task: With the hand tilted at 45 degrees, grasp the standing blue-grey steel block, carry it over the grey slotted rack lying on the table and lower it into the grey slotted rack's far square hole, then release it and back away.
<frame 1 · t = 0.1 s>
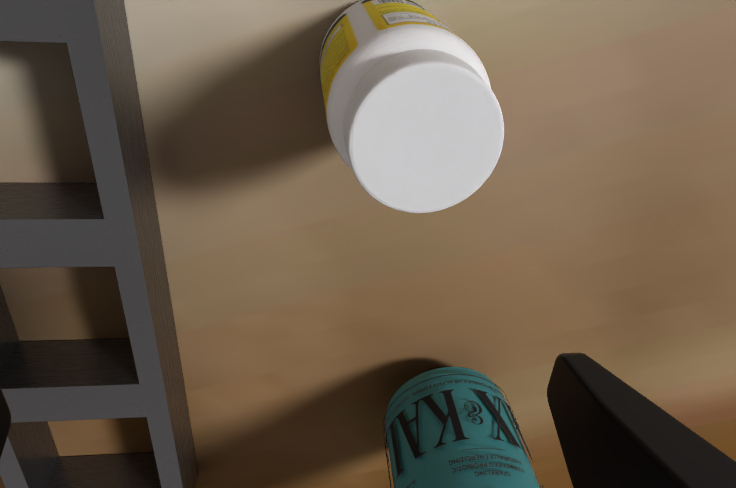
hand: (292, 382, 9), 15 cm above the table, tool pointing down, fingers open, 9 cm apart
supplement bottle: (382, 60, 21), on the table
grey slotted rack: (74, 286, 25), on the table
beverage bottle: (435, 385, 30), on the table
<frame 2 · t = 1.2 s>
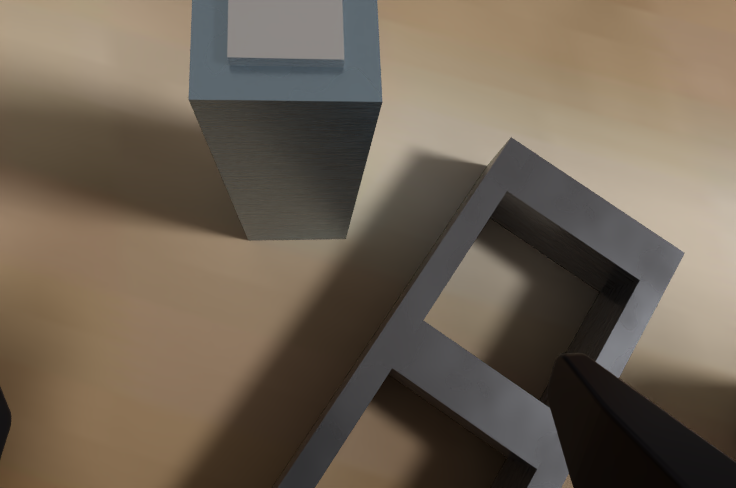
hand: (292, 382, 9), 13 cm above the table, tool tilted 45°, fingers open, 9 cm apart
nut block: (296, 193, 24), on the table
grey slotted rack: (402, 481, 22), on the table
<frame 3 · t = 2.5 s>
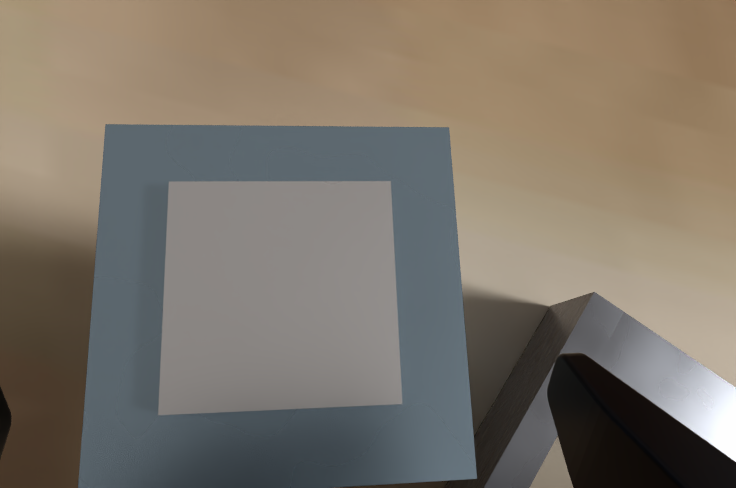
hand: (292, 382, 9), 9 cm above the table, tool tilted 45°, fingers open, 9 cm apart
nut block: (298, 352, 18), on the table
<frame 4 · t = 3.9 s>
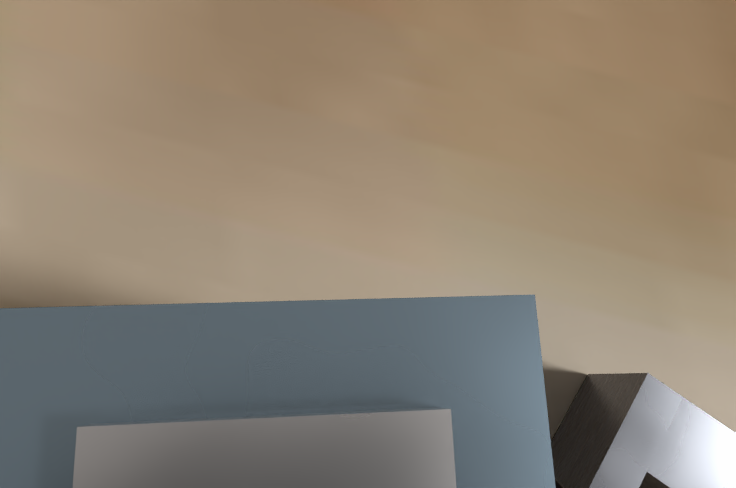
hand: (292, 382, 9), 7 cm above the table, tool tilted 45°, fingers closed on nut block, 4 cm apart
nut block: (298, 434, 15), on the table, touching gripper
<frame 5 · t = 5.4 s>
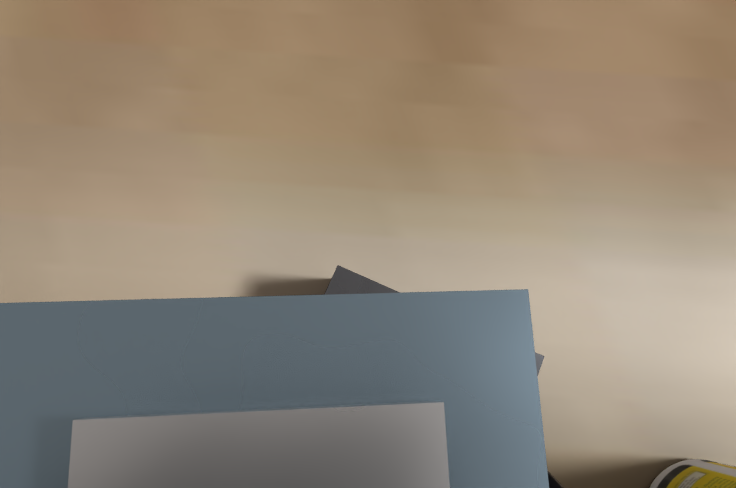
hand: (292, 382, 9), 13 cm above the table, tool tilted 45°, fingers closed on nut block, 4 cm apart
nut block: (297, 432, 15), point 6 cm above the table, touching gripper
when the fingers open (7 cm above the table, at t = 7.3 s): nut block stays where it is, resting in grey slotted rack.
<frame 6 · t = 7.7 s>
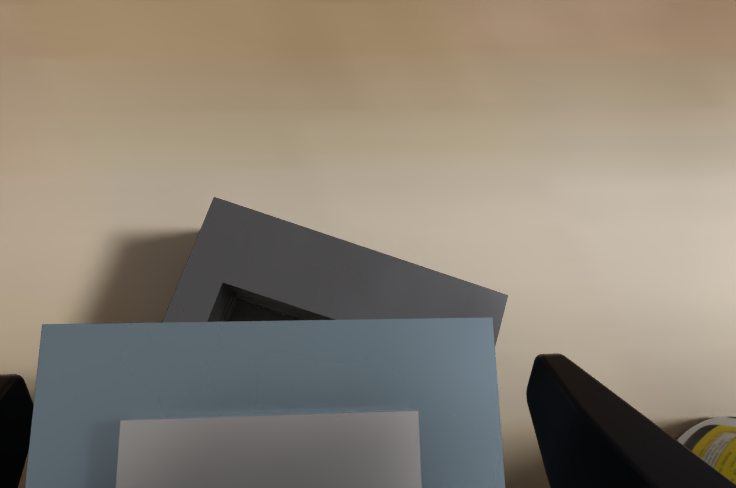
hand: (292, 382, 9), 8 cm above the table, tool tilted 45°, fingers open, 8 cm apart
nut block: (298, 431, 16), resting in grey slotted rack
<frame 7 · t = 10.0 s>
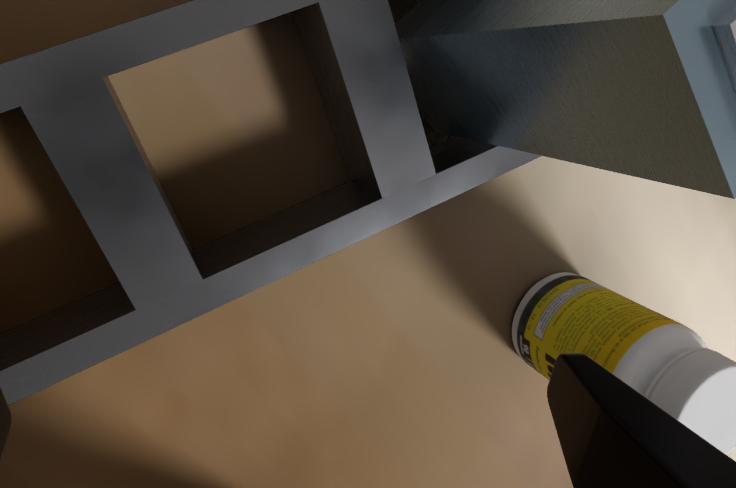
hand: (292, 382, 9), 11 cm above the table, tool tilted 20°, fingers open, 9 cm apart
supplement bottle: (548, 316, 26), on the table
nut block: (445, 52, 21), resting in grey slotted rack
grey slotted rack: (241, 133, 19), on the table
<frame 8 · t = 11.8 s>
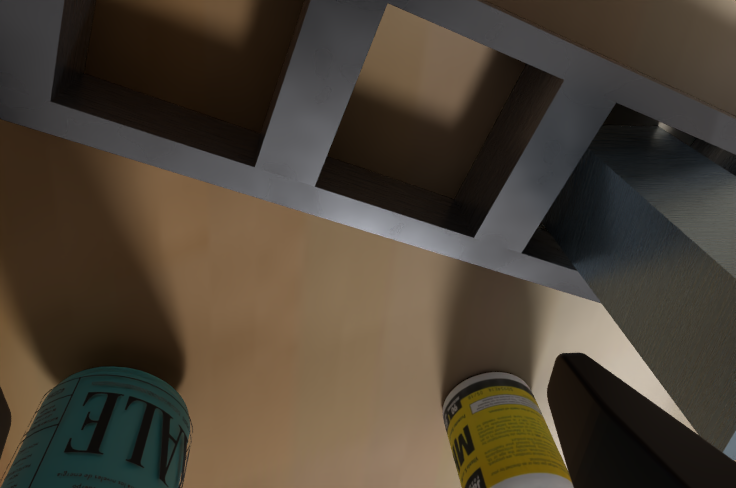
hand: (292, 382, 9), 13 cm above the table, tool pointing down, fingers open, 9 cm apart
supplement bottle: (484, 399, 29), on the table
nut block: (595, 173, 23), resting in grey slotted rack
grey slotted rack: (419, 105, 20), on the table
beverage bottle: (130, 386, 26), on the table
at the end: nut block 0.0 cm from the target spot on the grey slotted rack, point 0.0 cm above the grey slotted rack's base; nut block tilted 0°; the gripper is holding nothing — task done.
